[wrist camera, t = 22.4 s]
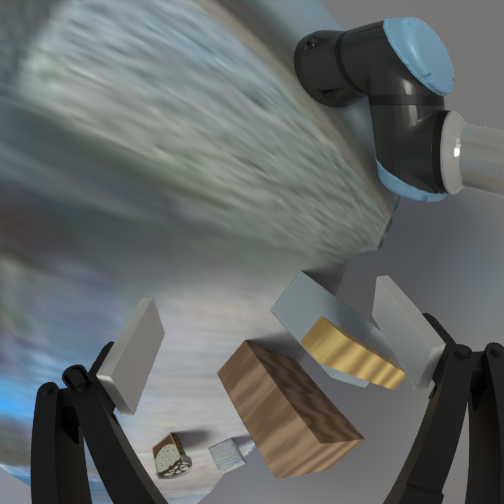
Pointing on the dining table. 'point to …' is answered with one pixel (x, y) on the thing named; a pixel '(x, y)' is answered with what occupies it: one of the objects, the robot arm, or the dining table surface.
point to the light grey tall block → (327, 305)
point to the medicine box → (227, 456)
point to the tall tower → (286, 412)
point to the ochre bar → (350, 355)
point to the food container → (171, 458)
